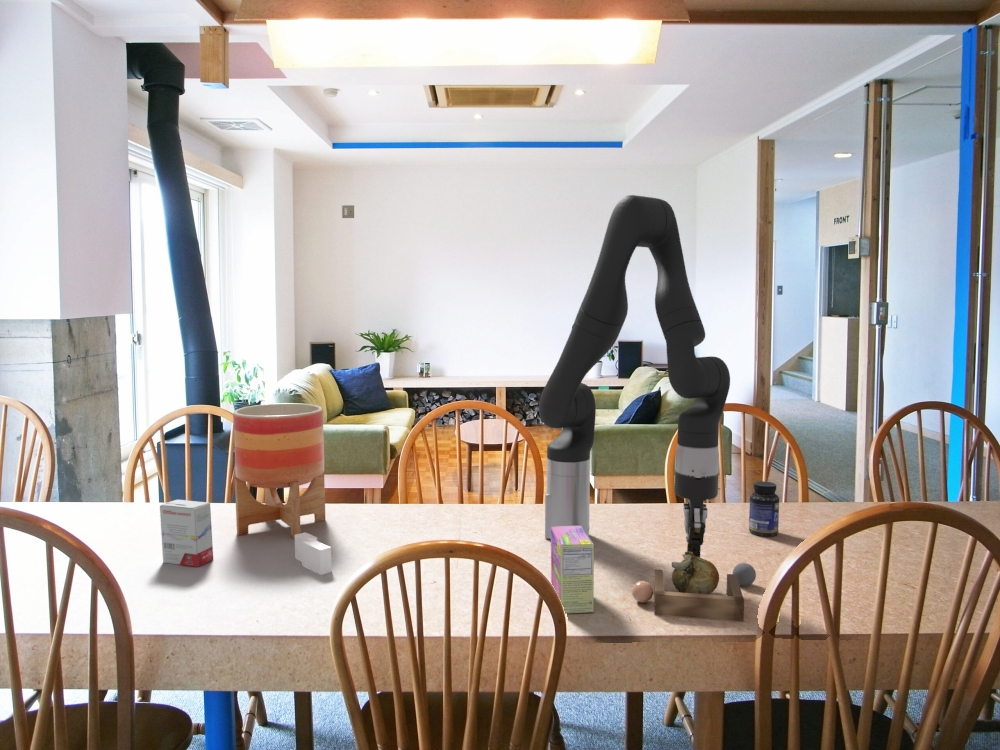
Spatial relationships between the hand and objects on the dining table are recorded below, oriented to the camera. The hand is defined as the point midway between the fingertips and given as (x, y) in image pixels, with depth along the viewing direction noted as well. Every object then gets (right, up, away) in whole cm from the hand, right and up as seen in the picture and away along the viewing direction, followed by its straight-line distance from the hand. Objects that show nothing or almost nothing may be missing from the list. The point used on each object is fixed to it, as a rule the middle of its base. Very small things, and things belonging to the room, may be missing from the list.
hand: (693, 563), depth 138 cm
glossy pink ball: (-10, -5, -7) cm, 14 cm away
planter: (-84, -1, +35) cm, 91 cm away
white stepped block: (-71, -4, +12) cm, 72 cm away
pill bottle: (+23, -1, +30) cm, 38 cm away
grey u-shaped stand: (-1, -5, -7) cm, 9 cm away
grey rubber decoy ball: (+9, -4, 0) cm, 10 cm away
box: (-23, -5, -7) cm, 24 cm away
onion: (-1, -5, -4) cm, 7 cm away
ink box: (-96, -3, +13) cm, 97 cm away
